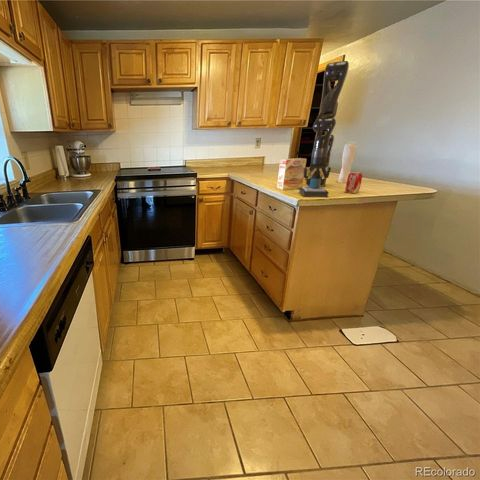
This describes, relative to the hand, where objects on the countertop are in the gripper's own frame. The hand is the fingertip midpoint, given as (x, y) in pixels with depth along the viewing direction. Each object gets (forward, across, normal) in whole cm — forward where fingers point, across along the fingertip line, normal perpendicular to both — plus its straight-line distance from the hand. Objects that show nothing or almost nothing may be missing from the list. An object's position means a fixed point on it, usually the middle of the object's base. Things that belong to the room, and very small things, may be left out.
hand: (314, 185), depth 158 cm
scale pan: (+3, 0, 0) cm, 3 cm away
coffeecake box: (+6, +10, -20) cm, 23 cm away
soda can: (+6, -23, -8) cm, 25 cm away
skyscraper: (+6, -30, -46) cm, 55 cm away
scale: (+6, 0, 0) cm, 6 cm away
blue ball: (+2, 0, 0) cm, 2 cm away
